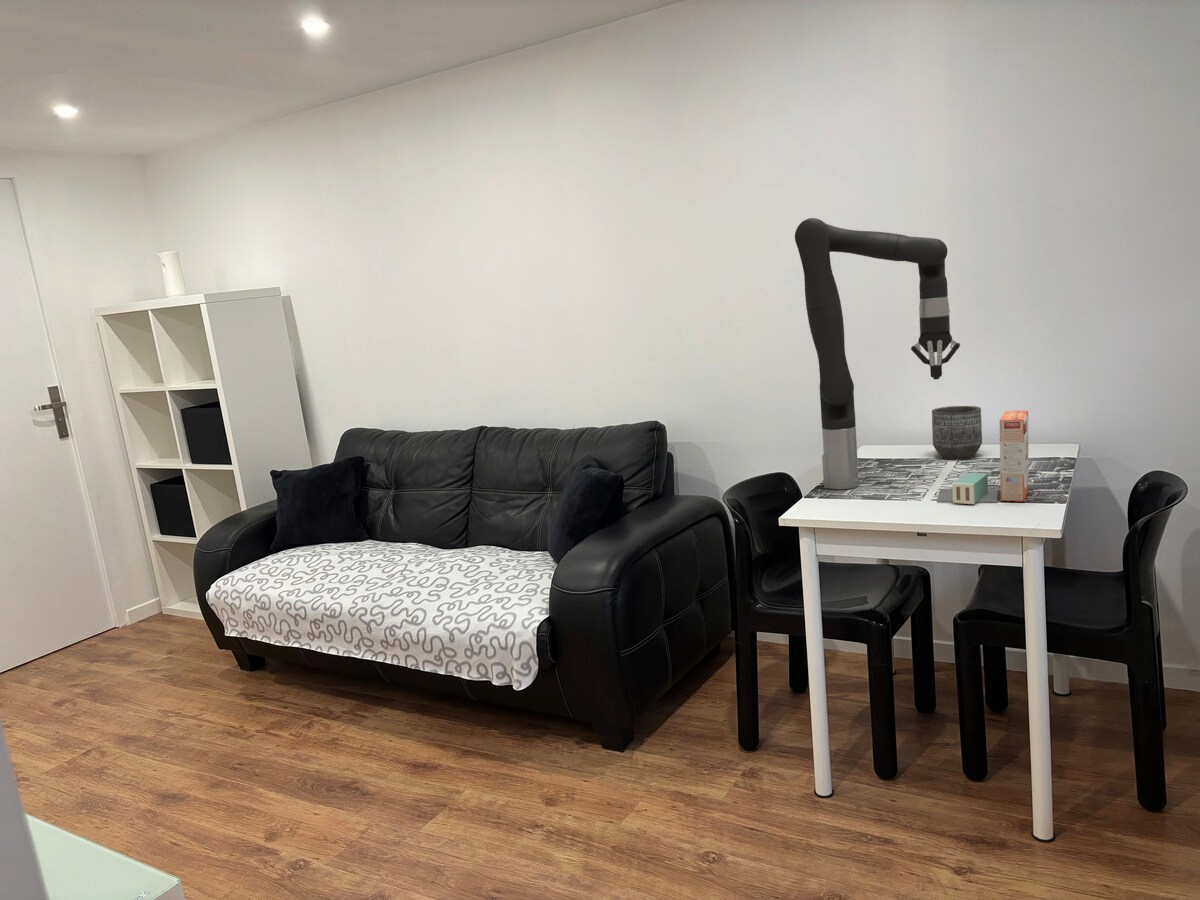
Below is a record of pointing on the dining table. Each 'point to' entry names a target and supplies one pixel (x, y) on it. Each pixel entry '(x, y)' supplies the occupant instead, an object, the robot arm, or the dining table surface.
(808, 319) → the robot arm
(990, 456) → the dining table surface
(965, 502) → the teal block
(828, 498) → the dining table surface
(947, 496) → the grey mat
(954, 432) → the planter
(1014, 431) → the cracker box
